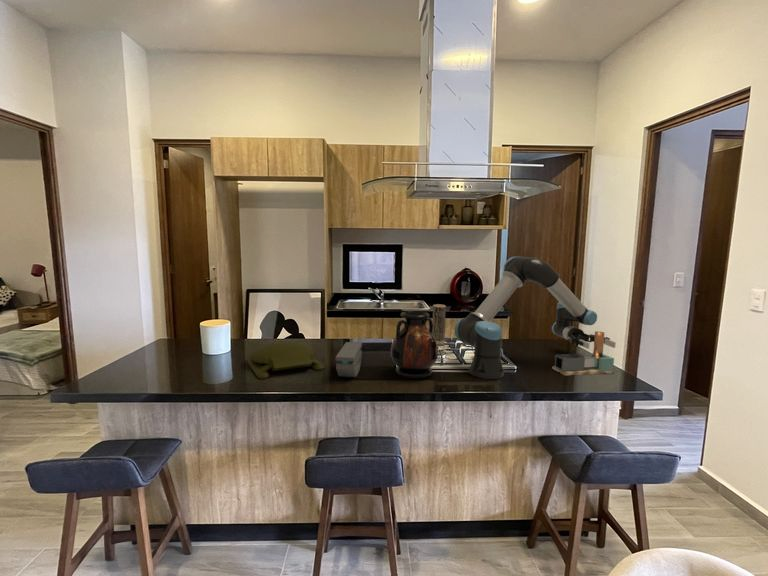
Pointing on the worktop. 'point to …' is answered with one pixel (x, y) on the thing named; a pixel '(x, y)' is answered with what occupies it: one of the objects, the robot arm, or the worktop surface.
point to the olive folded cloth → (282, 358)
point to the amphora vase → (414, 346)
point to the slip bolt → (595, 351)
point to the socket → (605, 363)
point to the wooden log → (439, 323)
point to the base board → (586, 371)
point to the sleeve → (569, 362)
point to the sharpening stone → (349, 360)
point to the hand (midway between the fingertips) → (601, 345)
